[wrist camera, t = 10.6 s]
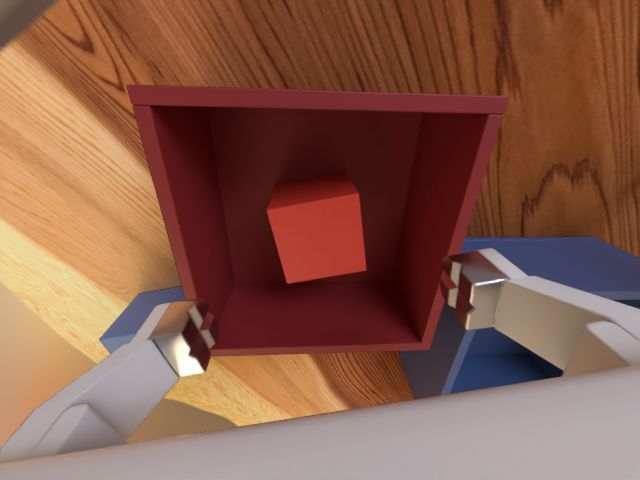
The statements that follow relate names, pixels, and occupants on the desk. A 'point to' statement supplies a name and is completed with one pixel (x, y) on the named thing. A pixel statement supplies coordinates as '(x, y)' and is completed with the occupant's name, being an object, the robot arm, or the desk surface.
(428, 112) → the red bin
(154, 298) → the blue block
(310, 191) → the red block
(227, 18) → the desk surface
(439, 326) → the blue bin
